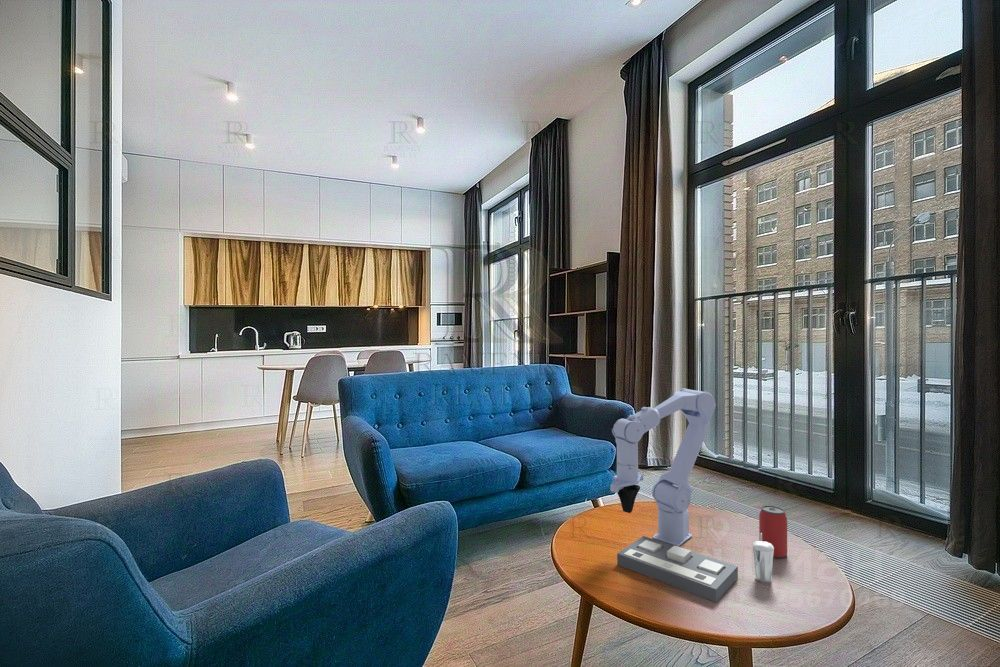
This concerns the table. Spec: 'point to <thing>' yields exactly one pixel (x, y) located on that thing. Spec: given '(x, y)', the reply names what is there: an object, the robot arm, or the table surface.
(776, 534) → the beer can
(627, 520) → the table surface
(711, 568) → the key
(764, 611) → the table surface
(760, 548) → the milkshake
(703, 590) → the button board
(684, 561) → the key middle
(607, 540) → the table surface
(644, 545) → the key
